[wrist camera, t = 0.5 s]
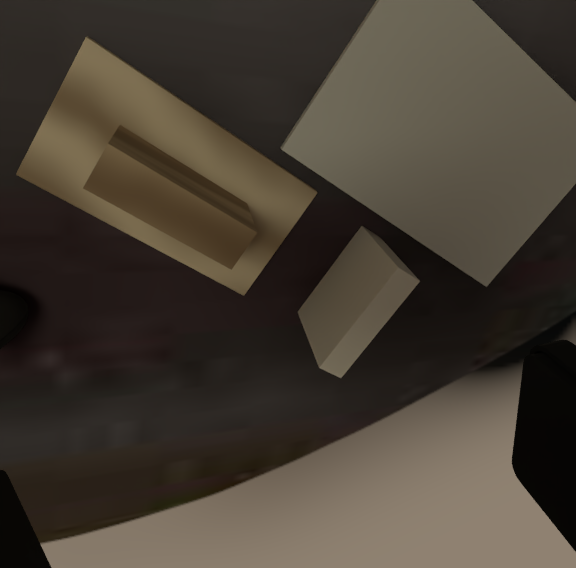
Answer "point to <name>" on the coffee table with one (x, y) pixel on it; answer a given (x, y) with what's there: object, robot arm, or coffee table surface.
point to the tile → (354, 301)
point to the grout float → (162, 171)
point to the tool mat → (443, 131)
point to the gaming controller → (11, 316)
